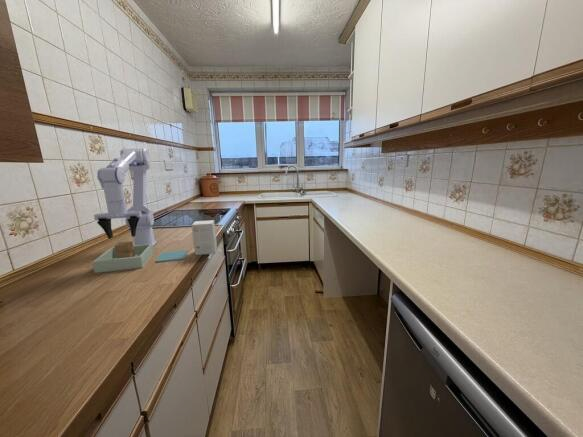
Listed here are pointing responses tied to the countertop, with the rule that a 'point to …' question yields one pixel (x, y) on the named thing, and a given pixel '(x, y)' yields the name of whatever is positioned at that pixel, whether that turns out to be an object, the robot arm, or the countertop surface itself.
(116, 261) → the crate
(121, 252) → the walnut block
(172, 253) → the teal mat
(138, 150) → the robot arm
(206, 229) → the small box
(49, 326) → the countertop surface
